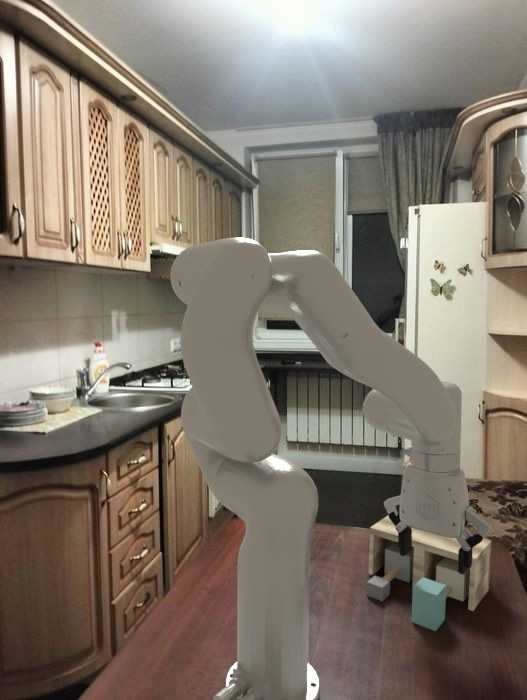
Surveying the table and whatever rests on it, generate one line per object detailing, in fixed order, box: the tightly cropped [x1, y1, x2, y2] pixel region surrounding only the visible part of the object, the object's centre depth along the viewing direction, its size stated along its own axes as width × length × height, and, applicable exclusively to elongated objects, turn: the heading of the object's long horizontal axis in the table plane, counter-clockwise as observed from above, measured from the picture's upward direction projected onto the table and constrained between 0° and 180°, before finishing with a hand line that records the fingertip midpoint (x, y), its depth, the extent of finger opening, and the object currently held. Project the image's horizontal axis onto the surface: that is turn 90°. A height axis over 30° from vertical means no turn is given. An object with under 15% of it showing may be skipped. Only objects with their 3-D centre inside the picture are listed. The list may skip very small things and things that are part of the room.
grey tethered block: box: [366, 542, 414, 602], centre depth 101 cm, size 14×5×5 cm, turn 141°
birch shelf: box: [368, 514, 492, 612], centre depth 101 cm, size 9×20×9 cm, turn 51°
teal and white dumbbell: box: [411, 557, 470, 632], centre depth 94 cm, size 16×5×6 cm, turn 141°
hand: (433, 561), depth 89 cm, fingers open, 9 cm apart
